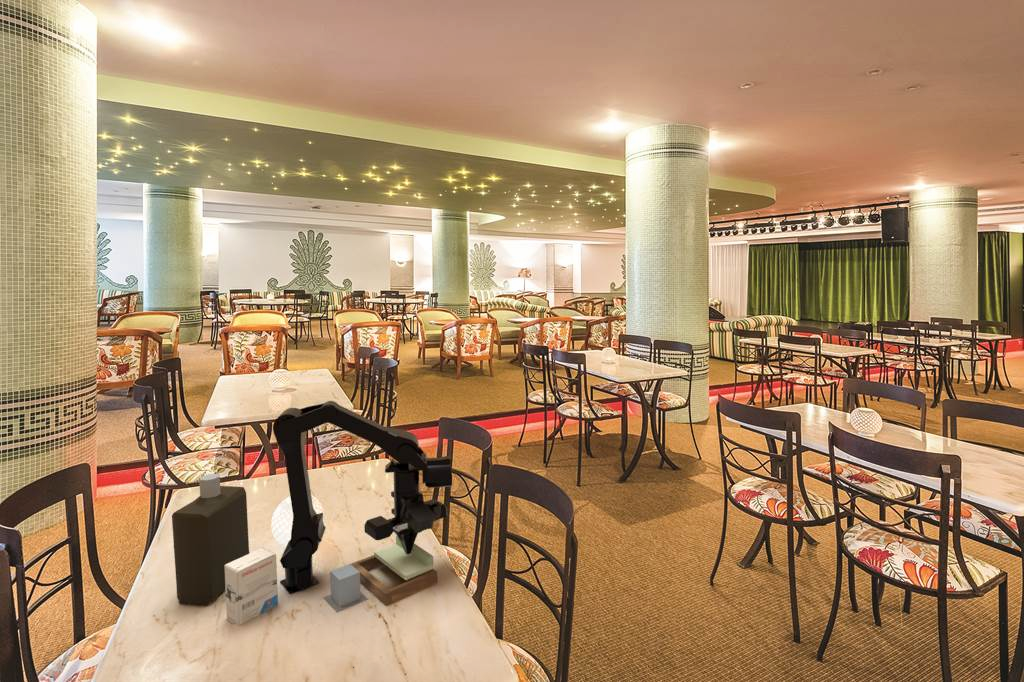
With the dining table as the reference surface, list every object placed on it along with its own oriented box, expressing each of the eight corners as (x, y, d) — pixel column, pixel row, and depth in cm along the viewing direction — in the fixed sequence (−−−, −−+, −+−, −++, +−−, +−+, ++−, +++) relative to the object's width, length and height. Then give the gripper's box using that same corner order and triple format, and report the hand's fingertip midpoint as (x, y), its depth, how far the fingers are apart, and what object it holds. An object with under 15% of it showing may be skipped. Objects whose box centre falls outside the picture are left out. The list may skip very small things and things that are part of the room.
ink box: (265, 598, 116) (262, 546, 114) (279, 606, 113) (277, 552, 112) (225, 619, 108) (222, 563, 107) (239, 628, 106) (236, 571, 104)
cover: (374, 556, 127) (374, 544, 126) (401, 546, 132) (401, 534, 131) (405, 580, 117) (405, 567, 116) (433, 568, 122) (433, 556, 121)
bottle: (253, 567, 128) (248, 465, 125) (208, 608, 112) (201, 492, 109) (221, 565, 129) (215, 463, 126) (173, 605, 113) (165, 490, 110)
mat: (322, 599, 115) (322, 597, 115) (353, 586, 120) (353, 585, 120) (337, 614, 110) (337, 612, 110) (368, 600, 115) (368, 599, 115)
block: (330, 597, 115) (330, 571, 115) (350, 589, 118) (350, 563, 118) (340, 607, 112) (339, 579, 111) (360, 598, 115) (359, 572, 114)
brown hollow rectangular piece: (350, 576, 124) (350, 563, 124) (400, 557, 133) (399, 545, 133) (385, 607, 113) (385, 593, 112) (437, 584, 121) (437, 571, 121)
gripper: (387, 511, 111) (389, 583, 113) (460, 488, 123) (461, 553, 125) (362, 495, 119) (364, 562, 121) (433, 475, 131) (434, 536, 133)
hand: (407, 553), depth 125 cm, fingers closed
